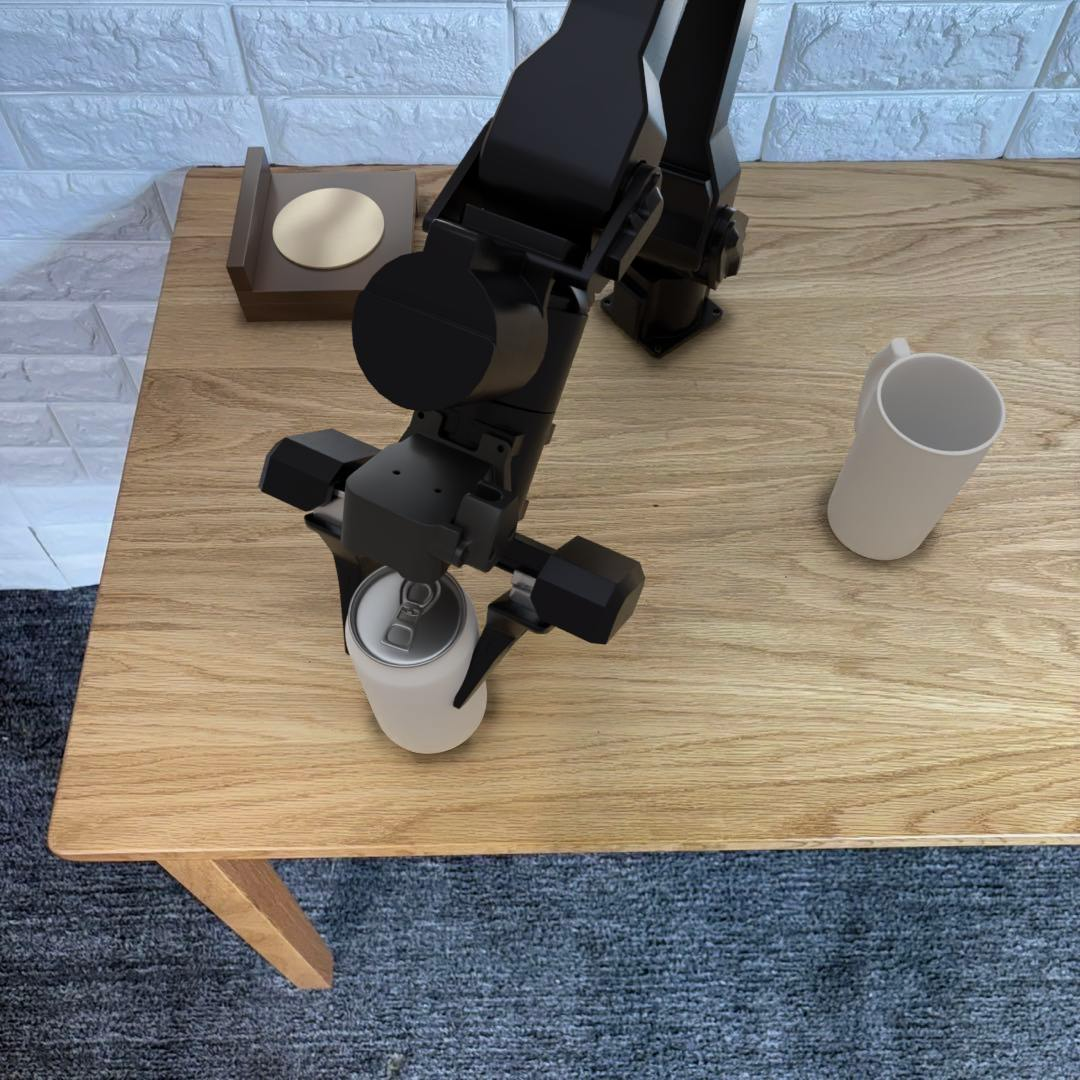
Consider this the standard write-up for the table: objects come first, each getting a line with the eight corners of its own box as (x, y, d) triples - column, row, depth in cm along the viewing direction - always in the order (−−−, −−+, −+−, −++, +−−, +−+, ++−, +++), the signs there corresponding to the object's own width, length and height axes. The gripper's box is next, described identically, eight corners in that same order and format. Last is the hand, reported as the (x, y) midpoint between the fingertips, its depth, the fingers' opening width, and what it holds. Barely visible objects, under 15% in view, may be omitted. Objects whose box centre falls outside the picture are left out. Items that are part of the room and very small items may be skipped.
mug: (946, 557, 62) (1027, 445, 52) (842, 573, 62) (902, 463, 51) (891, 427, 67) (954, 301, 57) (794, 441, 66) (840, 316, 56)
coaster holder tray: (419, 201, 78) (411, 143, 73) (413, 318, 72) (404, 263, 67) (265, 204, 78) (247, 146, 73) (246, 321, 72) (225, 266, 67)
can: (503, 669, 58) (495, 574, 48) (463, 772, 55) (445, 694, 45) (401, 636, 60) (372, 535, 49) (356, 735, 56) (315, 651, 46)
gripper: (226, 321, 41) (150, 650, 46) (642, 495, 37) (511, 837, 42) (359, 322, 51) (286, 590, 56) (696, 458, 47) (586, 735, 52)
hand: (404, 678), depth 51 cm, fingers closed on can, 6 cm apart
